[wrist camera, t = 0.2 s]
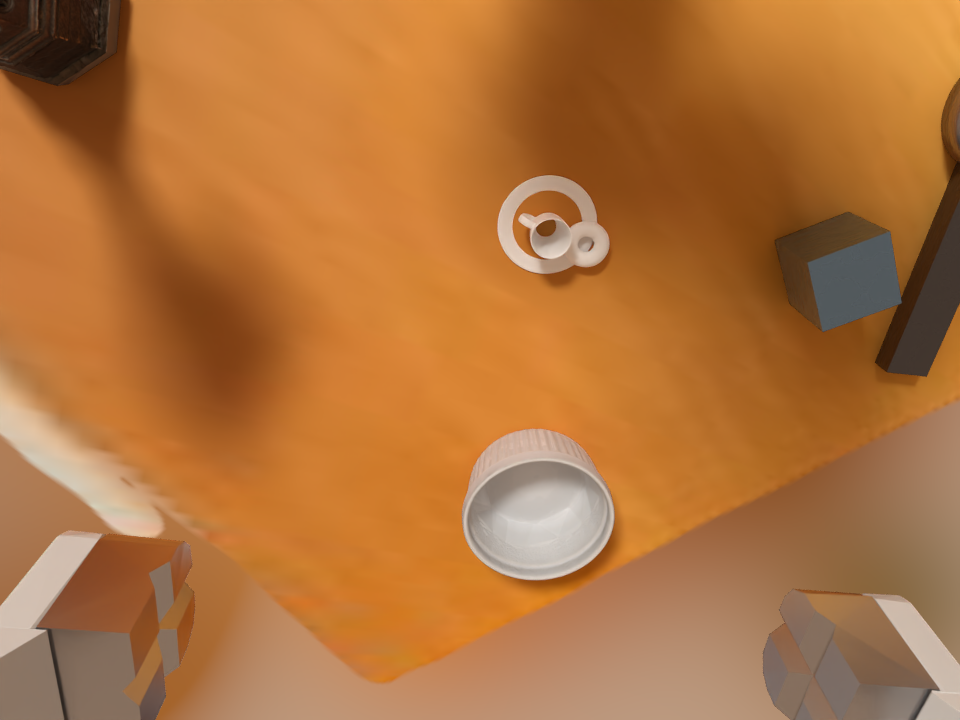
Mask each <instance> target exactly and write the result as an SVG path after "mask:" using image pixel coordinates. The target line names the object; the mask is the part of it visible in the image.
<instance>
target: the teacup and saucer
mask: <svg viewBox="0 0 960 720" xmlns="http://www.w3.org/2000/svg"><path fill="white" fill-rule="evenodd" d="M547 190H551V191H558V192H561V193H563V194H565V195H567V196H568V197H570V198H571V199H572V200H573V201H574V202H575V203H576V205H577V206H578V208H579V210H580V212H581V216H582V222H579V223H576V224H574V225H573V226H571V227H570V228H569V226H568V225H567V224H566V222H565V221H564V220H563V219H562V218H561V217H560V216H558V215H556V214H554V213H542V214H540V215H538V216H537V217H534V216H532V215H530V214H526V213H523V214H521V215H520V217H519V219H518V221H519V222H520V223H521V224H523V225H524V226H526V227H528V228H530V241H531V245H532V248H533V250H534V251H535V252H536V253H537V254H538V255H539V256H541V257H543V258H546V259H547V260H544V259H537V258H534V257H532V256H530V255H528V254H526V253H525V252H524V251H523V250H522V249H521V248H520V247H519V246H518V244H517V243H516V241H515V238H514V235H513V229H512V224H513V218H514V215H515V212H516V210H517V208H518V207H519V205H520V204H521V203H522V202H523V201H524V200H525V199H526V198H527V197H529V196H531V195H532V194H534V193H537V192H540V191H547ZM546 220H555V222H556V230H555V232H554V233H553V234H552V235H550V236H547V237H543V236H541V235H539V234H538V233H537V231H536V227H537V226H538V225H539V224H540V223H542V222H544V221H546ZM498 236H499V240H500V243H501V246H502V248H503V250H504V252H505V253H506V255H507V256H508V257H509V258H510V259H511V260H512V261H513V262H514V263H515V264H516V265H518V266H519V267H521V268H523V269H525V270H527V271H530V272H534V273H540V274H550V273H556V272H560V271H563V270H566V269H568V268H570V267H571V266H573V265H577V266H580V267H592V266H595V265H597V264H598V263H600V262H601V261H602V260H603V259H604V258H605V257H606V255H607V253H608V251H609V246H610V241H609V237H608V234H607V232H606V231H605V229H604V228H603V227H602V226H600V225H599V224H597V214H596V210H595V206H594V204H593V202H592V200H591V198H590V196H589V195H588V194H587V192H586V191H585V190H584V189H583V188H582V187H581V186H580V185H578V184H577V183H575V182H574V181H572V180H570V179H567V178H564V177H561V176H555V175H545V176H538V177H535V178H532V179H529V180H527V181H525V182H523V183H522V184H520V185H519V186H517V187H516V188H515V189H514V190H513V191H512V192H511V193H510V194H509V195H508V197H507V198H506V200H505V201H504V203H503V205H502V207H501V210H500V213H499V217H498ZM593 242H594V246H593V248H592V250H590V251H588V250H589V249H590V247H591V245H592V243H593ZM563 254H564V255H563Z"/></svg>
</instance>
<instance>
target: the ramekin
mask: <svg viewBox="0 0 960 720" xmlns="http://www.w3.org/2000/svg"><path fill="white" fill-rule="evenodd" d="M614 519H615V517H614V505H613V501H612V496H611V493H610V490H609V488H608V486H607V484H606V482H605V481H604V479H603V478H602V476H601V475H600V474H599V473H598V471H597V469H596V467H595V465H594V464H593V462H592V460H591V458H590V457H589V455H588V454H587V453H586V451H585V450H584V449H583V448H582V447H581V446H580V445H579V444H578V443H577V442H575V441H573V440H572V439H571V438H569V437H567V436H565V435H563V434H560V433H558V432H554V431H551V430H545V429H525V430H521V431H516V432H513V433H510V434H507V435H505V436H503V437H501V438H499V439H498V440H496V441H494V442H493V443H492V444H491V445H490V446H488V447H487V449H486V450H485V451H484V452H482V454H481V456H480V457H479V458H478V460H477V462H476V464H475V465H474V468H473V471H472V473H471V477H470V482H469V487H468V492H467V494H466V497H465V500H464V504H463V509H462V524H463V531H464V535H465V538H466V541H467V543H468V545H469V547H470V548H471V550H472V551H473V553H474V554H475V555H476V556H477V557H478V558H479V559H480V560H481V561H482V562H483V563H484V564H486V565H487V566H488V567H490V568H491V569H493V570H495V571H497V572H499V573H501V574H504V575H506V576H510V577H513V578H518V579H524V580H546V579H553V578H557V577H561V576H564V575H567V574H570V573H572V572H574V571H576V570H578V569H580V568H582V567H584V566H585V565H586V564H588V563H589V562H591V561H592V560H593V559H594V558H595V557H596V556H597V555H598V554H599V553H600V552H601V551H602V549H603V548H604V547H605V545H606V543H607V542H608V540H609V538H610V535H611V533H612V529H613V525H614Z"/></svg>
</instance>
